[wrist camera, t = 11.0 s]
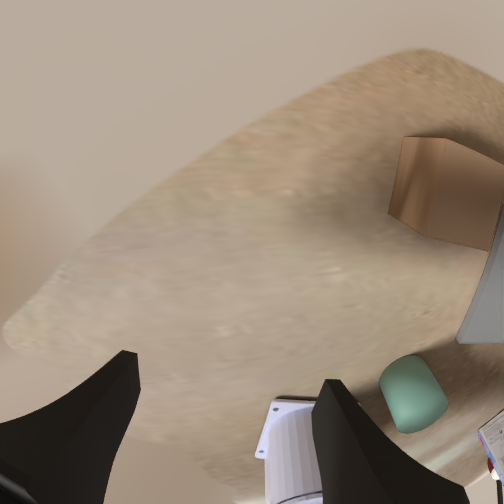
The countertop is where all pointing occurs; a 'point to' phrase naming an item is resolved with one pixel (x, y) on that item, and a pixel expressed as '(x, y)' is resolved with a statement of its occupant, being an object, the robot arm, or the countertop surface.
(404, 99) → the countertop surface
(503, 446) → the ink cartridge box
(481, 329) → the slate plate
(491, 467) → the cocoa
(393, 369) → the green cylinder
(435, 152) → the walnut block
